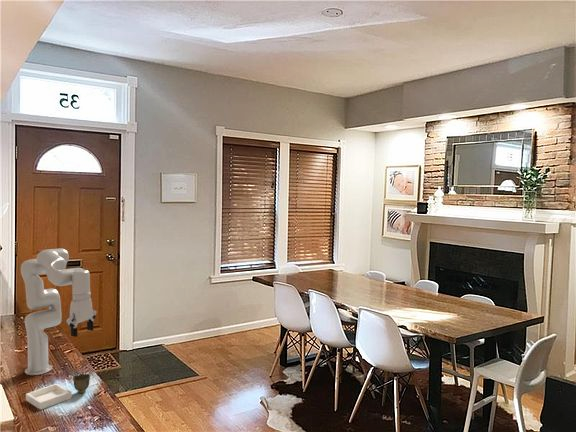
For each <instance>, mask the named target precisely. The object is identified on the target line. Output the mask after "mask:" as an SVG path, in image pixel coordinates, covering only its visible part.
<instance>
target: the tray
mask: <svg viewBox="0 0 576 432" xmlns="http://www.w3.org/2000/svg"><path fill="white" fill-rule="evenodd" d="M72 392H73V391H71V390H69V389H68V388H66V387H63V386H62V385H60V384H58V383H54V384H52V385H48V386H45V387H41V388H39V389H36V390H33V391H31V392H27V393H25V401H26V402H28V403H29V404H31V405H32V406H34V407H35V408H37V409H38V410H43V409H46V408H49V407H51V406H53V405H57V404H60V403H62V402H66V401H68V400H71V399H72V396H73V395H72Z"/></svg>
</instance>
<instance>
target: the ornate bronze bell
mask: <svg viewBox="0 0 576 432" xmlns="http://www.w3.org/2000/svg"><path fill="white" fill-rule="evenodd" d="M90 379H91V374H90V373H86V372H85V373H80V374H77V375H74V376H73V377H72V381H73V387H74V389H75V390H76V391H77V393H78V394H85V393H86V391H87V389H88V388H89V386H90V382H91V381H90Z"/></svg>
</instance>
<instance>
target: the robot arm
mask: <svg viewBox="0 0 576 432" xmlns="http://www.w3.org/2000/svg"><path fill="white" fill-rule="evenodd" d="M69 258H70V256H69V252H68V250H66V249H64V248H62V247H61V248H60V247H59V248H50V249H43V250H41V251H39V252H38V253H37V256H36V258H30V259H27V260H24V261H23V262H22V263H21V265H20V274H21V277H22V279H23V282H24V287H25V300H26V306H27V308H28V309H29V310H38V311H34V312H31V313H29V314H27V315H26V316H25V317H24V325H25V330H26V339H27V340H26V341H27V368H25V370H24V373H25V374H26V375H27V376H38V375H44V374H47V373H49V372H50V371H52V365H51V364H49V336H48V334H47V333H46V332H45V331H44V329H48V328H51V327H52V328H53V327H57V326H59V325H60V324H61V322H62V319H63V318H62V317H63V316H62V314H63V313H62V304H61V296H60V293H59V291H58V289H55V288H51V287H50V288H45V284H44V280H43V278H42V277H40V275H46V277H47V279H48V281H49V282H50V283H51V284H52V285H54V286H56V287H64V286H69V285H70V286H72V287H71V289H72V291H71V292H72V300H71V301H70V307H69V317H68V318H67V319H66V320H65V322H66V324H67V326H68V327H69V328H70V336H71V337H75V338H76V337H78V324H80V323H84V322H86V321H87V322H86V328H87V330H88V331H91V332H92V331H94V322H95V319H96V316H97V313H98V311H97V310H94V309H93V301H92V298H91V295H92V293H91V276H90V275H91V274H90V271H89V270H87V269H83V268H82V267H70V268H66V267H67V263H68V262H69ZM45 308H48V309H45ZM39 309H43V310H39ZM44 309H45V310H44Z"/></svg>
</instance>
